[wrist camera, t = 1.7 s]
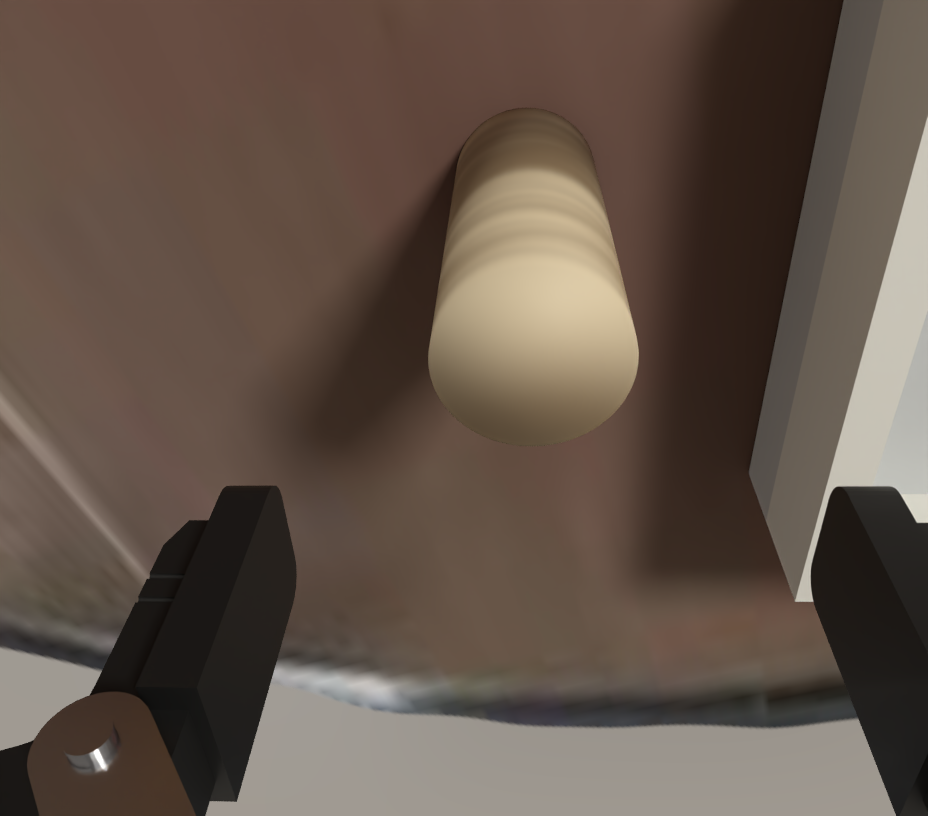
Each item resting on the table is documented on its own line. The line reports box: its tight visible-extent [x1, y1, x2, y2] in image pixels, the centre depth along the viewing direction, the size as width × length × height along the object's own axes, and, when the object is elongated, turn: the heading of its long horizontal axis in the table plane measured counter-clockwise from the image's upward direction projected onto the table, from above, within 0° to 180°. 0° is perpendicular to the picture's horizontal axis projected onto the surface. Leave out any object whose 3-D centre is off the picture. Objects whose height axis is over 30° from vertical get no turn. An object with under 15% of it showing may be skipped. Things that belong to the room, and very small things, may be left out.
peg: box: [428, 108, 639, 446], centre depth 20 cm, size 4×4×10 cm
